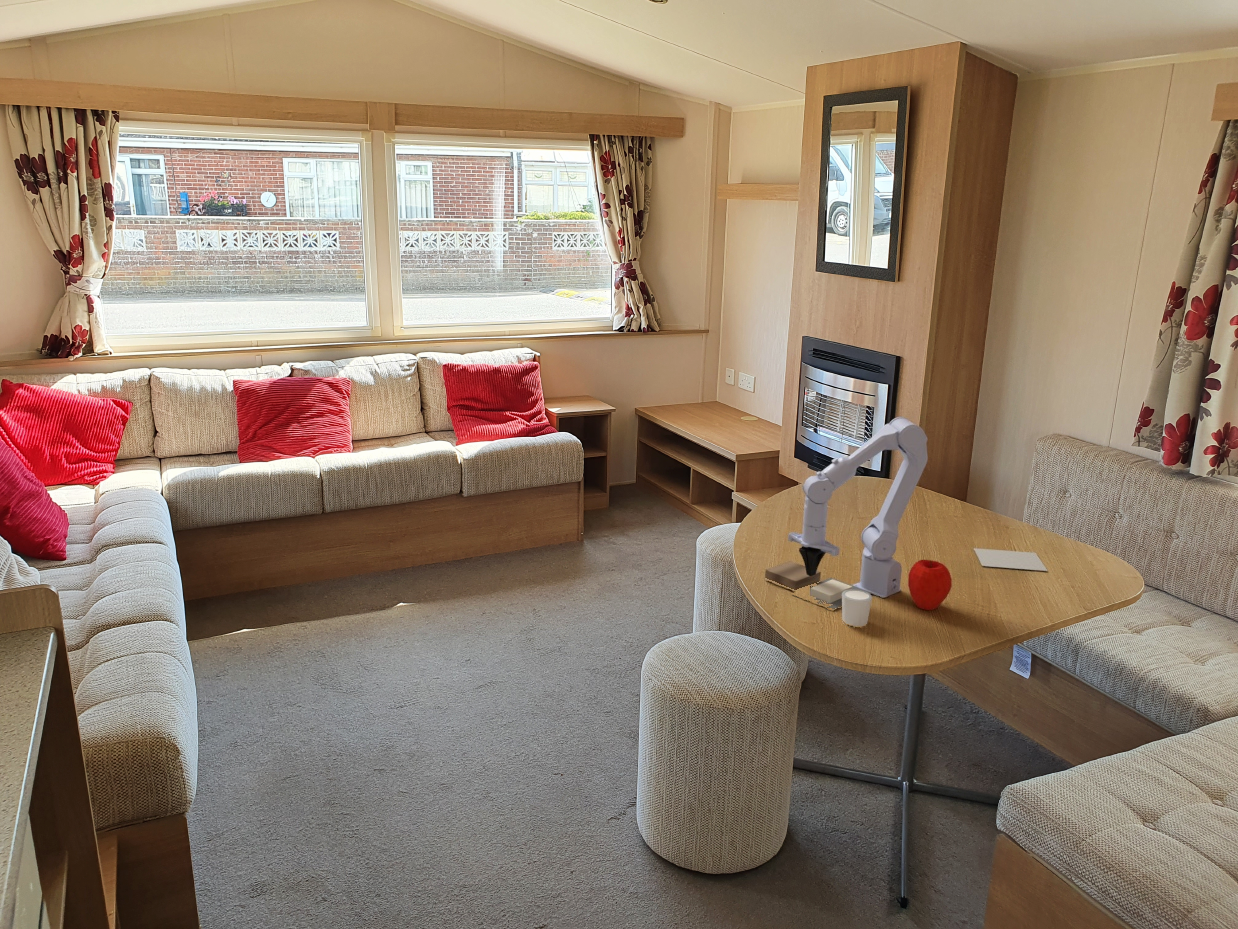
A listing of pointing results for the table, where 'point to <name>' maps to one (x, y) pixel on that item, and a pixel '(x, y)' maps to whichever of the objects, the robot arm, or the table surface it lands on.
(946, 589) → the apple
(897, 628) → the table surface
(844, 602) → the white cylinder
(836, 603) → the mat
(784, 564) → the riser
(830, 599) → the cream rectangular block
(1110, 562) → the table surface
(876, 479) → the table surface
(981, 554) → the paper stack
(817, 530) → the robot arm
